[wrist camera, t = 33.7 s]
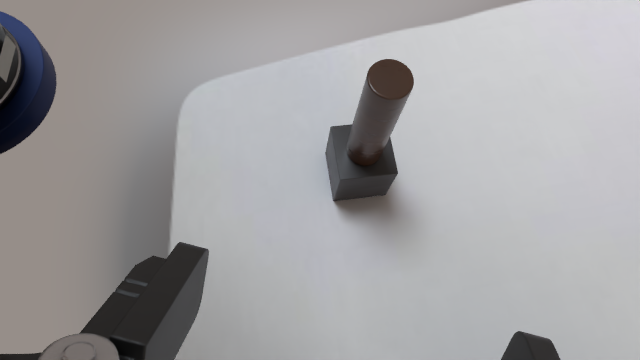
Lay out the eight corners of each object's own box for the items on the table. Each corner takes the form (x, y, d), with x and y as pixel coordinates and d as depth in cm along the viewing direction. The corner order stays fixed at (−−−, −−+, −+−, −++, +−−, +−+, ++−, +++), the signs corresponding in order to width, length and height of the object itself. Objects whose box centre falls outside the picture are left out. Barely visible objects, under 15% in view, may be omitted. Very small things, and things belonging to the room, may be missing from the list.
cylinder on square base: (333, 201, 33) (359, 116, 22) (325, 152, 34) (346, 48, 23) (385, 195, 34) (436, 109, 22) (375, 147, 35) (419, 42, 24)
